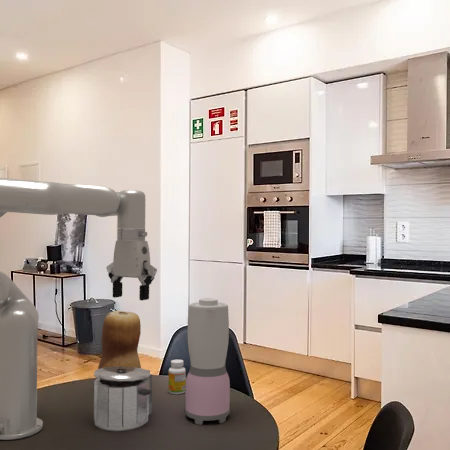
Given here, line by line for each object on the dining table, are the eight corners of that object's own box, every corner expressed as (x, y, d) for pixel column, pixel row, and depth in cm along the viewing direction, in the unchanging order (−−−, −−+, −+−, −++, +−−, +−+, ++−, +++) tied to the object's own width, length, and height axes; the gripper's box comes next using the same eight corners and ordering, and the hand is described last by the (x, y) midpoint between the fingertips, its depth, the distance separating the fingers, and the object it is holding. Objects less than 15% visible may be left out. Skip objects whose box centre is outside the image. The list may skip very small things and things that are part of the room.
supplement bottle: (166, 390, 159) (167, 359, 159) (183, 388, 160) (183, 358, 160) (170, 395, 153) (170, 363, 154) (187, 393, 155) (187, 362, 155)
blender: (234, 423, 131) (235, 302, 132) (188, 427, 129) (189, 303, 129) (222, 403, 147) (223, 294, 147) (181, 406, 144) (182, 295, 145)
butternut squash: (142, 396, 152) (142, 314, 153) (96, 399, 149) (97, 316, 149) (139, 382, 166) (140, 307, 166) (97, 385, 163) (98, 308, 163)
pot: (129, 437, 122) (129, 392, 122) (77, 422, 131) (78, 380, 132) (168, 417, 136) (169, 376, 136) (119, 404, 145) (120, 366, 145)
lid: (123, 386, 123) (124, 378, 123) (82, 376, 130) (82, 369, 131) (163, 376, 136) (163, 369, 136) (123, 368, 144) (124, 361, 144)
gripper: (164, 236, 135) (164, 299, 134) (117, 235, 144) (116, 294, 143) (146, 236, 128) (145, 302, 128) (98, 235, 137) (97, 297, 137)
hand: (130, 298), depth 136 cm, fingers open, 9 cm apart
